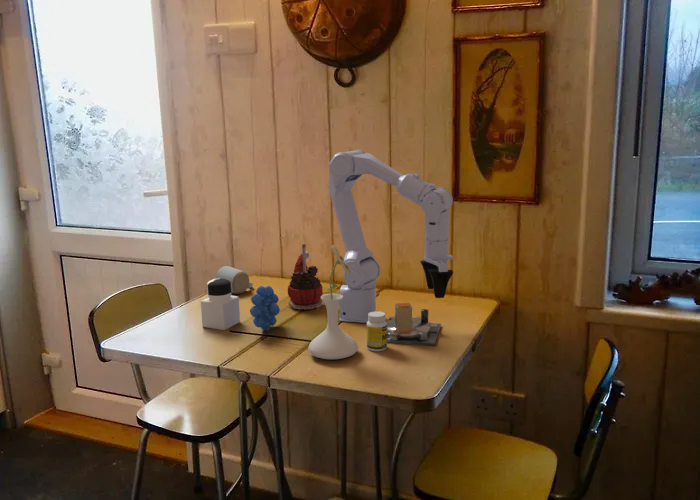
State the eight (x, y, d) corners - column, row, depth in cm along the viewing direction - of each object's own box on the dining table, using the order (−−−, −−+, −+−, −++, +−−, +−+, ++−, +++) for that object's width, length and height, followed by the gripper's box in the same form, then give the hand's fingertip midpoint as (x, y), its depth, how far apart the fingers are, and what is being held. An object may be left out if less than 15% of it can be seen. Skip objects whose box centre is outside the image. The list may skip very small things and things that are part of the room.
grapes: (268, 340, 158) (266, 292, 156) (245, 336, 161) (242, 290, 158) (292, 325, 169) (290, 280, 166) (269, 321, 171) (267, 278, 169)
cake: (308, 314, 177) (306, 249, 173) (281, 308, 182) (278, 246, 178) (330, 303, 186) (328, 242, 182) (303, 298, 191) (301, 238, 187)
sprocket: (399, 344, 152) (399, 326, 151) (369, 326, 164) (369, 309, 163) (447, 334, 158) (447, 317, 157) (414, 317, 170) (414, 301, 169)
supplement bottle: (385, 352, 149) (385, 317, 148) (365, 351, 150) (364, 316, 148) (388, 344, 154) (388, 311, 152) (368, 343, 155) (368, 310, 153)
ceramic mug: (234, 297, 193) (233, 272, 192) (215, 292, 198) (214, 268, 196) (259, 289, 202) (258, 265, 200) (240, 285, 206) (239, 261, 205)
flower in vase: (353, 365, 142) (352, 254, 137) (303, 362, 144) (299, 253, 139) (363, 343, 155) (361, 241, 149) (316, 341, 157) (313, 240, 151)
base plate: (372, 341, 156) (372, 338, 156) (383, 322, 170) (383, 319, 170) (434, 345, 153) (434, 343, 153) (441, 325, 166) (441, 323, 166)
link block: (397, 332, 155) (397, 307, 154) (395, 327, 159) (395, 302, 157) (411, 331, 155) (412, 306, 154) (409, 326, 159) (409, 302, 157)
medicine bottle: (240, 322, 172) (238, 278, 169) (224, 330, 165) (221, 285, 163) (218, 318, 175) (215, 275, 172) (201, 327, 168) (198, 282, 166)
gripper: (461, 244, 151) (459, 301, 154) (445, 232, 165) (444, 284, 168) (431, 246, 150) (430, 302, 153) (417, 233, 164) (417, 285, 167)
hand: (435, 293), depth 160 cm, fingers open, 7 cm apart
